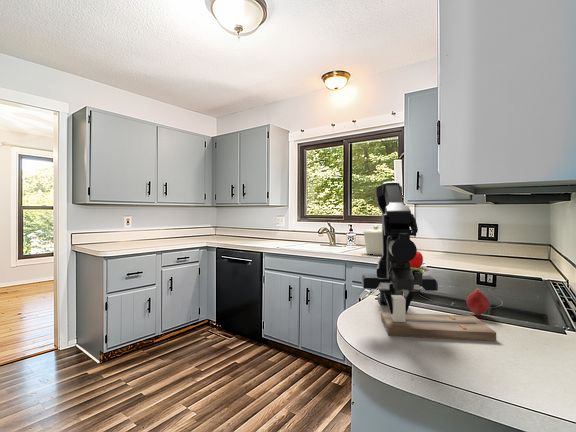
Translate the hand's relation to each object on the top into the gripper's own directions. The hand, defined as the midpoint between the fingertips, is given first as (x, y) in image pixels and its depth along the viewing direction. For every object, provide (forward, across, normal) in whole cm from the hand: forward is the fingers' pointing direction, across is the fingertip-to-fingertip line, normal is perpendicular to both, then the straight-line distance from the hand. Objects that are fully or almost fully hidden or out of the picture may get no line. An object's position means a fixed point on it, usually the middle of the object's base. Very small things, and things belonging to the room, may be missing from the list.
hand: (398, 314), depth 83 cm
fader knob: (+1, 0, 0) cm, 1 cm away
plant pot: (+4, +12, +38) cm, 40 cm away
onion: (+4, +26, +13) cm, 29 cm away
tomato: (+4, +26, +90) cm, 93 cm away
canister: (+4, +14, +143) cm, 144 cm away
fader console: (+4, +9, 0) cm, 10 cm away
